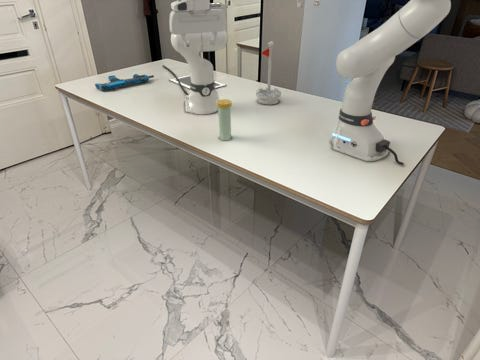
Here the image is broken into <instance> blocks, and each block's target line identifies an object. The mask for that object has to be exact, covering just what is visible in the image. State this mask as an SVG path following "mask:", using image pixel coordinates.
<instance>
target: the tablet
mask: <svg viewBox="0 0 480 360" xmlns="http://www.w3.org/2000/svg"><path fill="white" fill-rule="evenodd" d="M177 78H178V80H179V82H180V83H181V85H182V87H183V88H186V89H189V90H190V82H191V77H190V74H188V75H183V76H179V77H177ZM169 81H170V82H172V83H175V84H177V85H179V83H178V81H177V79H176V78H175V77H174V78H171V79H169ZM214 81H215V89H219V88H223V87H226V86H227V85H226V84H225V83H222V82H219V81H217V80H214Z"/></svg>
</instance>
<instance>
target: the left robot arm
mask: <svg viewBox="0 0 480 360" xmlns="http://www.w3.org/2000/svg"><path fill="white" fill-rule="evenodd" d="M170 9H171V11H170V13H169V21H168V23H169V24H168V25H169V26H168V27H169V32H170V33H171V35H170V43H171V47H172V48H173V49H174V50H175V51H176V52H177V53H179V54H180V56H182V57H183V58H184V60H185V61H186V63H187V65H188V69H189V75H190V77H191V82H190V89H189V91H188V93H187V91H186V89H185V87H184V86H182V85H181V83H180V82H179V80H178V78H179V77H177V75H176V74H175V73H174V72H173V71H172V70H171V69H170V68H168V67H167V66H165V64H162V67H163V68H164V69H166V70H167V71H168V72H170V74H172V75H173V76H174V78H176V79H177V81H178V83H179V84H178V85H179V86H180V88H181V90H182V92H183V93H184V94H185V100H184V104H185V105H184V106H185V107H184V108H185V112H186V113H191V114H196V115H211V114H213V113H216V112H217V111H218V107H217V101H218V100H220V97H219V93H218V91H217V90H216V88H215V81H216V80H215V79H214V75H215V74H214V66H213V64H212V62H211V61H209V60H208V59H206V58H205V57H204V58H203V57H201V56H200V53H203V52H216V51H219V50H223V49H225V47H227V44H228V39H229V35H228V31H227V29H228V26H227V19H226V18H227V17H226V15H227V7H226V5H225V4H224V3H222V2H211V0H175V1H172V2H171V3H170Z"/></svg>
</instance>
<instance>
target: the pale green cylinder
mask: <svg viewBox="0 0 480 360" xmlns="http://www.w3.org/2000/svg"><path fill="white" fill-rule="evenodd" d="M231 108H232V107H230V108H226V109H222V108H218V110H217V111H218V112H217V113H218V130H219V131H218V134H219V137H218V138H219V140H221V141H229V140H231V139H232V116H231V115H232V111H231Z"/></svg>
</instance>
